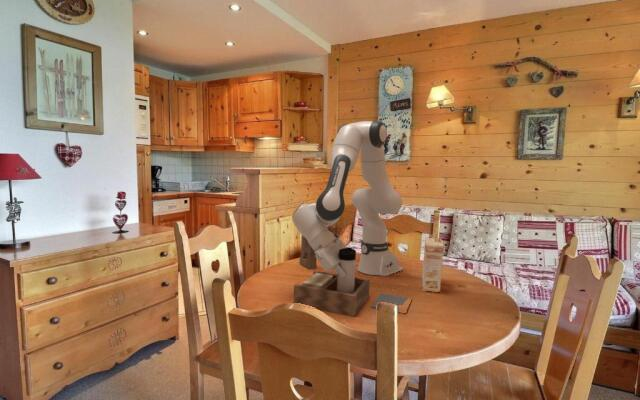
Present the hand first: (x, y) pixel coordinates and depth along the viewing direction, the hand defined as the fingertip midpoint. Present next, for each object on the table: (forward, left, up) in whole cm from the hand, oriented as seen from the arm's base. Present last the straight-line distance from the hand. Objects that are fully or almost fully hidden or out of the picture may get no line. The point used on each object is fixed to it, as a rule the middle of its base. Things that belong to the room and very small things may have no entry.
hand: (348, 272), depth 129 cm
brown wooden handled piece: (-11, -46, -12) cm, 48 cm away
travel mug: (0, -1, -12) cm, 12 cm away
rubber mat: (-15, +8, -11) cm, 20 cm away
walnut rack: (+3, -5, -11) cm, 13 cm away
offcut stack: (+6, -9, -12) cm, 16 cm away
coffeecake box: (-43, +2, -12) cm, 44 cm away
